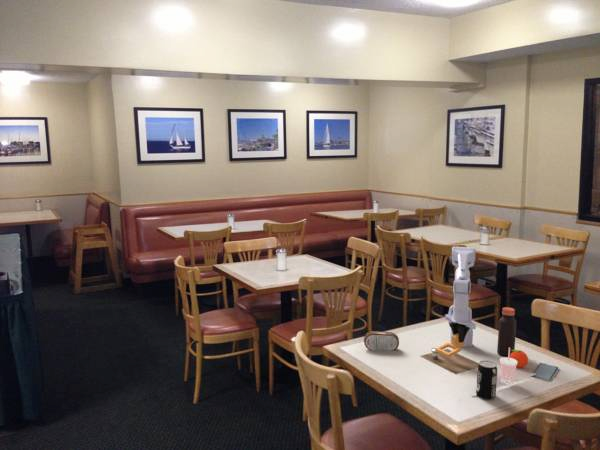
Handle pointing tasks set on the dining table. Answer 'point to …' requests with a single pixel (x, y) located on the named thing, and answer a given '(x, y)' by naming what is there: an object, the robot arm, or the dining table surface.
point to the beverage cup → (508, 370)
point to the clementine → (519, 358)
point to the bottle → (506, 332)
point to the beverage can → (486, 380)
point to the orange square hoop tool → (451, 346)
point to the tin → (381, 340)
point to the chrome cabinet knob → (434, 353)
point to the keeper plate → (452, 362)
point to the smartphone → (545, 372)
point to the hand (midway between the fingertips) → (458, 340)
